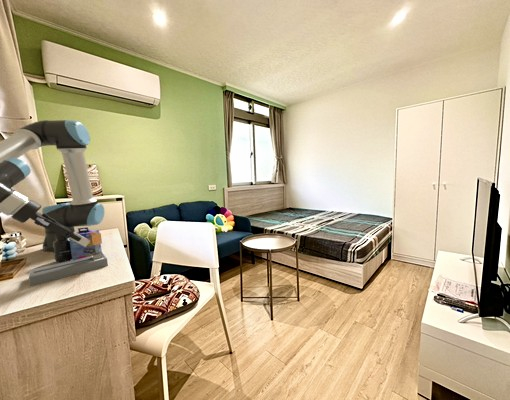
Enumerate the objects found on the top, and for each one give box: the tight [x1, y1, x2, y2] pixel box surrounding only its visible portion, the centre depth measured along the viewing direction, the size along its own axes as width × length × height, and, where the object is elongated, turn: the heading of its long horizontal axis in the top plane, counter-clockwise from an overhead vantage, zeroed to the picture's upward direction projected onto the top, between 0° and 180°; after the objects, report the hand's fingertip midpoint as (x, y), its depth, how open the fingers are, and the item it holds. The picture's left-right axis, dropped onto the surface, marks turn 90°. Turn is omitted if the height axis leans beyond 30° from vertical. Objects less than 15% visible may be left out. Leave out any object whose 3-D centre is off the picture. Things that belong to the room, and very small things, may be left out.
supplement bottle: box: [53, 234, 72, 263], centre depth 96 cm, size 7×7×12 cm
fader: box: [90, 231, 104, 259], centre depth 89 cm, size 3×6×10 cm, turn 44°
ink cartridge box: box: [70, 226, 103, 261], centre depth 96 cm, size 10×6×14 cm, turn 113°
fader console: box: [28, 253, 109, 287], centre depth 83 cm, size 22×9×3 cm, turn 134°
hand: (87, 243), depth 87 cm, fingers closed
